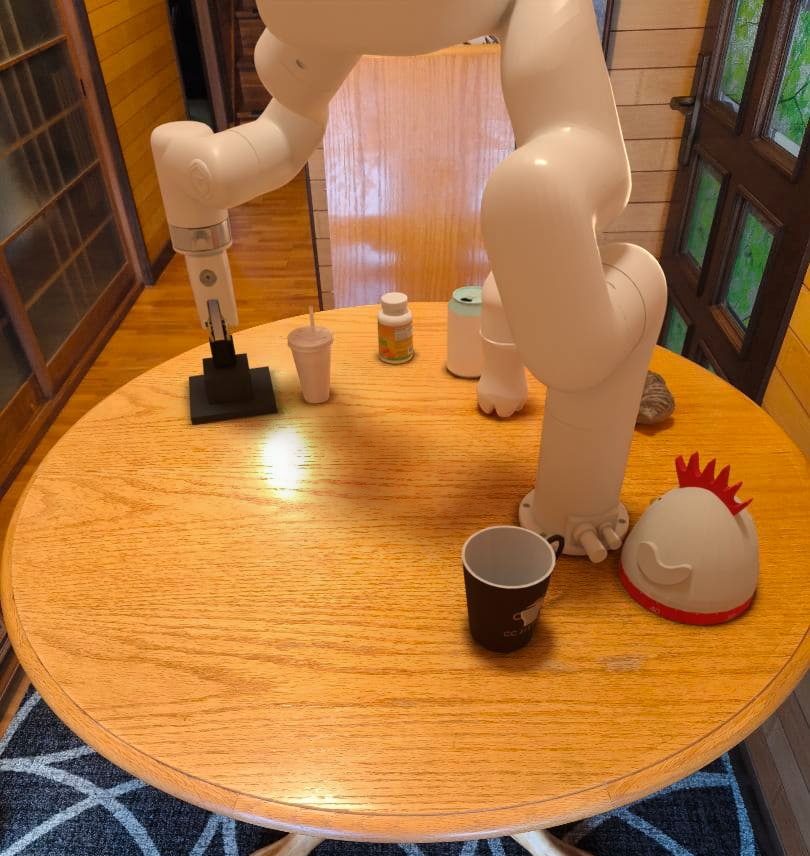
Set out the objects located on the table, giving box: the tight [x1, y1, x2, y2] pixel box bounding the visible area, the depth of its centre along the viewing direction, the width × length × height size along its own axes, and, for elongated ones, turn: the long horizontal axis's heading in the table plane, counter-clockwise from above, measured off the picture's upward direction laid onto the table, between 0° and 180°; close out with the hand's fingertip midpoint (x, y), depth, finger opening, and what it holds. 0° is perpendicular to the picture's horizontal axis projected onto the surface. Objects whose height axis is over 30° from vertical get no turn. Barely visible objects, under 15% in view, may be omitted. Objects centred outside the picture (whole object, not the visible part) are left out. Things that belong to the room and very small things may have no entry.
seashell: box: [635, 369, 676, 425], centre depth 104 cm, size 9×7×8 cm
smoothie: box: [286, 304, 335, 404], centre depth 107 cm, size 6×6×14 cm
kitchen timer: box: [617, 450, 760, 626], centre depth 77 cm, size 14×14×15 cm
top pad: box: [201, 352, 254, 404], centre depth 110 cm, size 6×6×4 cm
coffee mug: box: [461, 525, 565, 654], centre depth 74 cm, size 12×9×10 cm
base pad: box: [188, 365, 279, 426], centre depth 111 cm, size 12×12×3 cm
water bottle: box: [475, 269, 529, 418], centre depth 100 cm, size 7×7×25 cm
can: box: [446, 285, 483, 379], centre depth 113 cm, size 7×7×12 cm
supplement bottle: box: [376, 291, 414, 365], centre depth 118 cm, size 5×5×10 cm
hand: (225, 363), depth 109 cm, fingers closed
